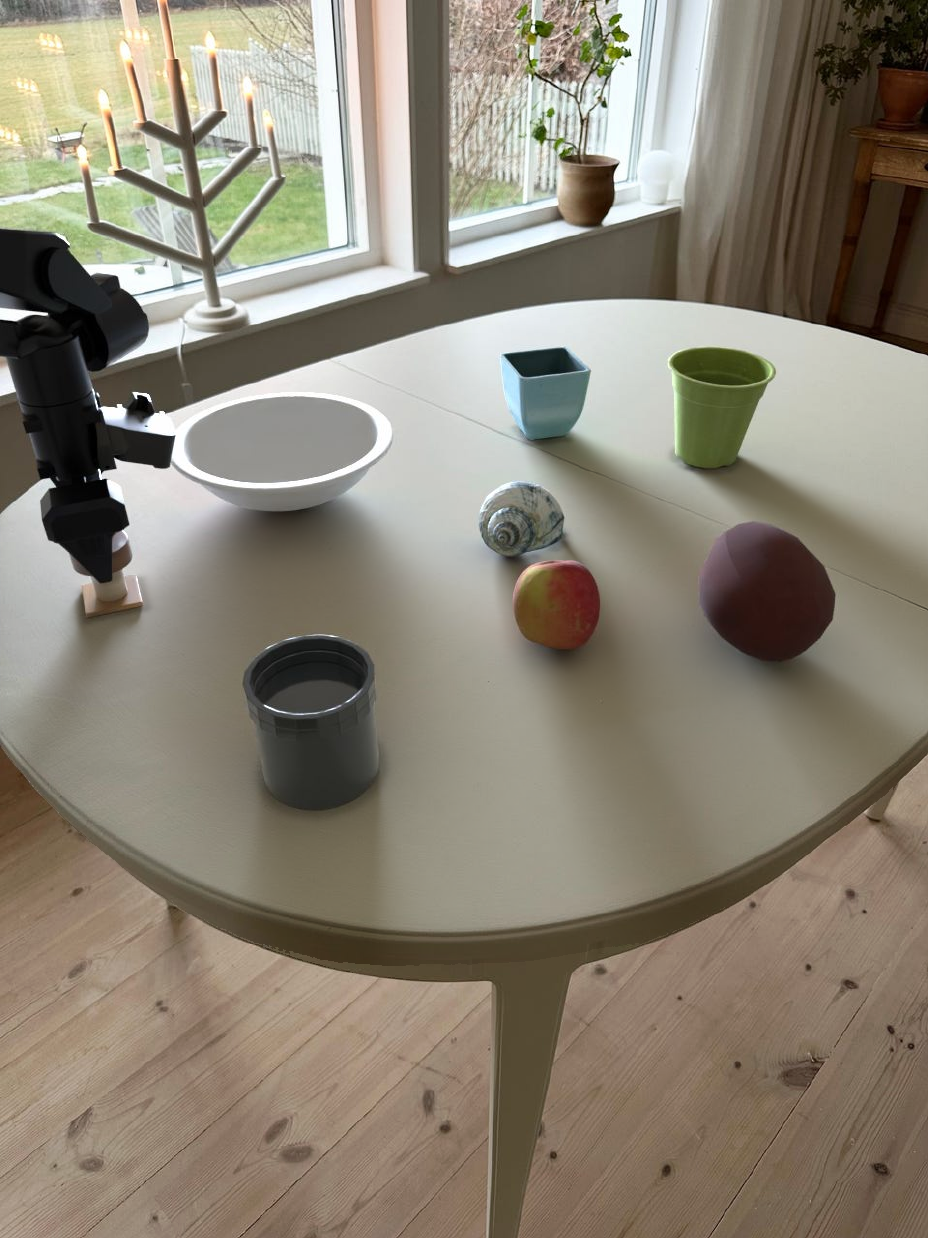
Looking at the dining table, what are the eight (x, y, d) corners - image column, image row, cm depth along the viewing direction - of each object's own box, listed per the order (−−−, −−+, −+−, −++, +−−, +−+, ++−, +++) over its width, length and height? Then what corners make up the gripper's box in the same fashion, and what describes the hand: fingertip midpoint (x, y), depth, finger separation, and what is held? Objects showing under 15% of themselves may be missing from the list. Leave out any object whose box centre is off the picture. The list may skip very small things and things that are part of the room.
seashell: (573, 544, 97) (488, 585, 90) (530, 494, 99) (444, 531, 93) (597, 505, 92) (509, 546, 85) (551, 454, 94) (462, 489, 88)
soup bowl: (299, 572, 90) (292, 513, 86) (131, 506, 100) (117, 451, 97) (437, 474, 106) (436, 421, 102) (279, 426, 117) (273, 376, 113)
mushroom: (85, 614, 84) (69, 562, 80) (80, 584, 88) (65, 534, 84) (144, 601, 85) (131, 550, 82) (137, 572, 89) (124, 522, 86)
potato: (712, 695, 75) (734, 591, 69) (672, 602, 86) (687, 504, 80) (844, 689, 76) (878, 585, 70) (788, 597, 86) (813, 499, 80)
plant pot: (666, 480, 105) (679, 386, 98) (647, 435, 115) (659, 346, 108) (769, 479, 105) (790, 385, 98) (742, 434, 115) (759, 345, 108)
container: (276, 827, 64) (258, 733, 59) (249, 743, 71) (231, 652, 66) (398, 790, 67) (392, 697, 62) (361, 713, 74) (352, 623, 68)
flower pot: (497, 420, 118) (498, 352, 113) (562, 412, 120) (566, 345, 115) (518, 450, 111) (520, 378, 106) (586, 441, 113) (592, 370, 108)
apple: (608, 625, 83) (617, 550, 78) (581, 679, 77) (588, 601, 72) (529, 606, 85) (533, 531, 81) (496, 656, 79) (498, 579, 75)
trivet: (86, 618, 84) (85, 613, 84) (82, 589, 88) (81, 584, 87) (143, 605, 86) (142, 601, 85) (136, 578, 89) (135, 573, 89)
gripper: (174, 421, 70) (208, 590, 80) (143, 341, 84) (176, 493, 93) (17, 446, 67) (72, 619, 76) (12, 359, 81) (59, 514, 90)
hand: (101, 555), depth 84 cm, fingers open, 9 cm apart
